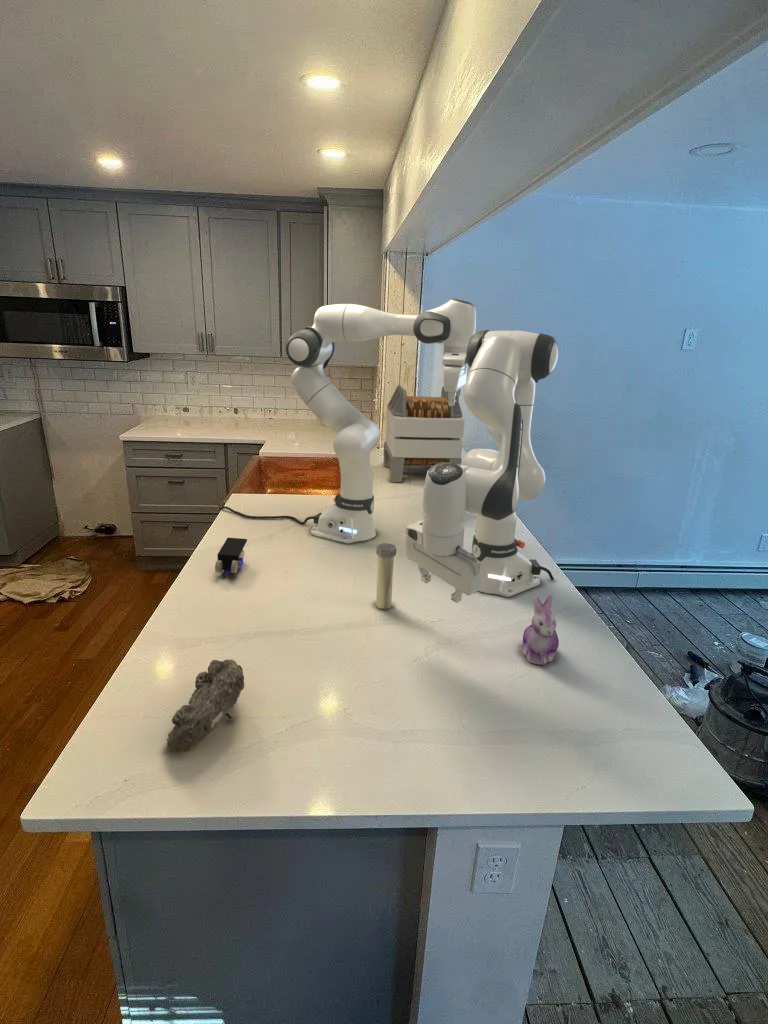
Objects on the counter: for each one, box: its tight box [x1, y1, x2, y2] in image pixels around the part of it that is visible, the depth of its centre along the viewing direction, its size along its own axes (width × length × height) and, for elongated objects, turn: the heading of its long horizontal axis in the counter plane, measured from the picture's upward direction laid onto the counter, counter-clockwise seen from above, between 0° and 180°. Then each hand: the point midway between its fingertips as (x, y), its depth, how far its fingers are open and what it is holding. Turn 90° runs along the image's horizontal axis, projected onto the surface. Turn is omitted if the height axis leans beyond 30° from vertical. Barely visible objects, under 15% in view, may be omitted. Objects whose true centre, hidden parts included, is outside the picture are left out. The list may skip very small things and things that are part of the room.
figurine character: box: [214, 537, 248, 578], centre depth 166 cm, size 7×8×15 cm
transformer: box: [383, 384, 465, 483], centre depth 268 cm, size 34×33×41 cm
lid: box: [376, 542, 397, 558], centre depth 146 cm, size 5×5×2 cm
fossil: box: [166, 658, 245, 754], centre depth 106 cm, size 22×10×15 cm
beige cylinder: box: [375, 555, 395, 610], centre depth 149 cm, size 4×4×17 cm
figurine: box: [521, 594, 560, 666], centre depth 130 cm, size 9×10×15 cm
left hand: (454, 403), depth 174 cm, fingers open, 8 cm apart
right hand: (440, 590), depth 127 cm, fingers open, 8 cm apart
